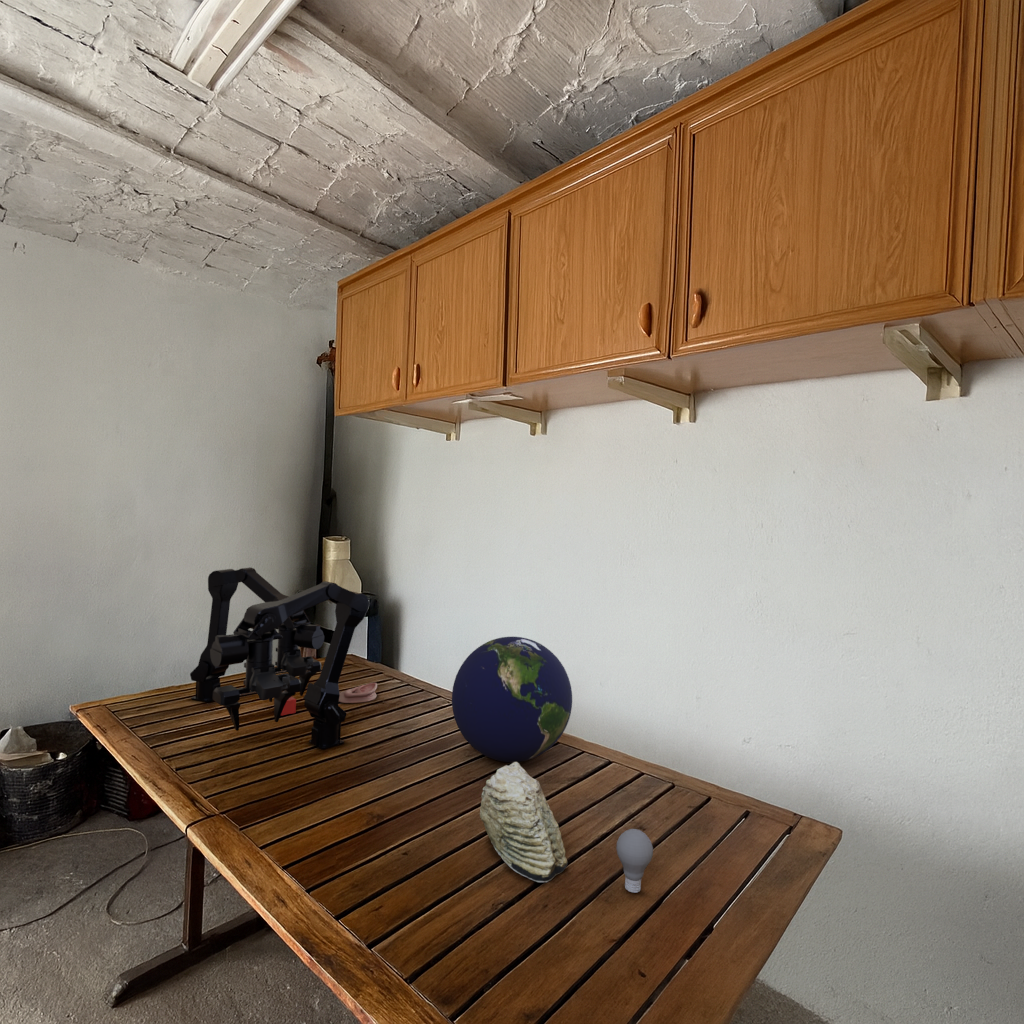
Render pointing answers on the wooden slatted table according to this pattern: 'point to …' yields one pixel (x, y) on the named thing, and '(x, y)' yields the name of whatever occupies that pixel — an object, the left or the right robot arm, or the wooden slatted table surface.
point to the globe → (512, 699)
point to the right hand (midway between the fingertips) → (257, 725)
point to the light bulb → (634, 857)
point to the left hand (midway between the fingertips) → (286, 698)
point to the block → (289, 706)
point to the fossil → (522, 824)
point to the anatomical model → (359, 694)
